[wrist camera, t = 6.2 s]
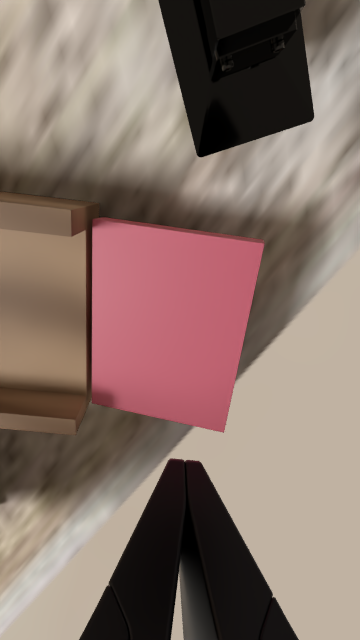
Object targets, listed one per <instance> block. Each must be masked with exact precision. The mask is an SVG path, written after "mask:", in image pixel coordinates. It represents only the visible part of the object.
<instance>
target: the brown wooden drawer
mask: <svg viewBox="0 0 360 640" xmlns="http://www.w3.org/2000/svg"><path fill="white" fill-rule="evenodd" d="M96 218H99V203H94V202H86V201H77V200H69V199H60V198H52V197H44V196H35V195H27V194H18V193H10V192H1V191H0V428H1V429H12V430H23V431H34V432H45V433H56V434H67V435H76V433H77V431H78V429H79V426H80V424H81V422H82V419H83V417H84V414H85V412H86V410H87V407H88V405H89V403H90V400H91V398H92V219H96Z"/></svg>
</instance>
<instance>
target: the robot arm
mask: <svg viewBox="0 0 360 640" xmlns="http://www.w3.org/2000/svg"><path fill="white" fill-rule="evenodd" d="M178 574H179V575H180V589H181V604H182V621H183V635H184V640H299V639H298V638H297V636H296V634H295V633H294V631H293V629H292V627H291V626H290V624H289V622H288V620H287V619H286V617H285V615H284V613H283V611H282V609H281V608H280V606H279V604H278V602H277V600H276V598H274V597H273V598H272V596H273V594H272V591H271V590H270V588H269V586H268V584H267V582H266V580H265V579H264V577H263V575H262V573H261V571H260V569H259V568H258V566H257V564H256V562H255V560H254V558H253V557H252V555H251V553H250V551H249V549H248V548H247V546H246V544H245V542H244V540H243V539H242V536H241V535H240V533H239V531H238V529H237V527H236V526H235V524H234V522H233V520H232V518H231V516H230V514H229V513H228V511H227V509H226V507H225V505H224V504H223V502H222V500H221V498H220V496H219V495H218V493H217V491H216V489H215V487H214V485H213V483H212V482H211V480H210V478H209V476H208V474H207V472H206V471H205V469H204V467H203V465H202V463H201V462H199V461H193V460H186V461H185V462H184V460H182V459H170V460H169V461H168V462H167V464H166V466H165V469H164V471H163V473H162V475H161V477H160V479H159V481H158V483H157V485H156V487H155V489H154V491H153V493H152V495H151V497H150V499H149V501H148V503H147V505H146V507H145V509H144V511H143V513H142V516H141V518H140V520H139V522H138V524H137V526H136V528H135V530H134V532H133V534H132V536H131V538H130V540H129V542H128V544H127V546H126V548H125V550H124V552H123V554H122V556H121V558H120V560H119V562H118V565H117V567H116V569H115V571H114V573H113V575H112V577H111V579H110V581H109V585H108V586H107V587H106V589H105V591H104V593H103V595H102V597H101V599H100V601H99V603H98V605H97V607H96V609H95V611H94V613H93V614H92V616H91V618H90V620H89V622H88V624H87V626H86V628H85V630H84V632H83V633H82V635H81V637H80V639H79V640H171V632H172V624H173V623H172V622H173V615H174V606H175V599H176V590H177V582H178Z"/></svg>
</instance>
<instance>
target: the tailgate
mask: <svg viewBox="0 0 360 640" xmlns="http://www.w3.org/2000/svg"><path fill="white" fill-rule="evenodd" d="M263 248H264V241H263V240H262V239H255V238H248V237H240V236H233V235H226V234H219V233H212V232H205V231H198V230H191V229H184V228H177V227H170V226H163V225H156V224H148V223H141V222H134V221H127V220H120V219H113V218H106V217H102V218H96V219H92V403H93V404H98V405H102V406H107V407H111V408H116V409H120V410H125V411H129V412H134V413H138V414H143V415H147V416H152V417H156V418H161V419H165V420H170V421H174V422H179V423H183V424H188V425H192V426H197V427H201V428H206V429H211V430H215V431H220V432H224V430H225V425H226V421H227V416H228V411H229V407H230V402H231V397H232V393H233V388H234V383H235V379H236V374H237V369H238V365H239V360H240V355H241V351H242V346H243V341H244V337H245V332H246V327H247V323H248V318H249V313H250V309H251V304H252V299H253V295H254V290H255V285H256V281H257V276H258V271H259V267H260V262H261V257H262V253H263Z"/></svg>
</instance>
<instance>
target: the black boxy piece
mask: <svg viewBox="0 0 360 640" xmlns="http://www.w3.org/2000/svg"><path fill="white" fill-rule="evenodd" d="M159 4H160V8H161V12H162V17H163V21H164V25H165V29H166V33H167V37H168V41H169V45H170V49H171V53H172V57H173V61H174V65H175V69H176V73H177V77H178V81H179V85H180V89H181V93H182V97H183V101H184V105H185V109H186V113H187V117H188V121H189V125H190V129H191V133H192V137H193V141H194V145H195V149H196V153H197V155H198V156H199V157H204V156H207V155H210V154H213V153H216V152H219V151H222V150H225V149H228V148H231V147H235V146H238V145H241V144H244V143H247V142H250V141H253V140H256V139H259V138H262V137H265V136H268V135H271V134H274V133H277V132H280V131H283V130H286V129H289V128H292V127H296V126H299V125H302V124H305V123H308V122H311V121H312V120H313V118H314V110H313V103H312V95H311V88H310V80H309V73H308V65H307V58H306V50H305V43H304V35H303V28H302V20H301V13H300V12H301V10H302V9H303V7H304V6H305V0H159Z"/></svg>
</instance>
